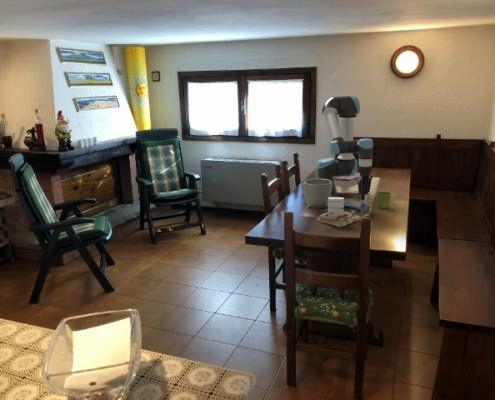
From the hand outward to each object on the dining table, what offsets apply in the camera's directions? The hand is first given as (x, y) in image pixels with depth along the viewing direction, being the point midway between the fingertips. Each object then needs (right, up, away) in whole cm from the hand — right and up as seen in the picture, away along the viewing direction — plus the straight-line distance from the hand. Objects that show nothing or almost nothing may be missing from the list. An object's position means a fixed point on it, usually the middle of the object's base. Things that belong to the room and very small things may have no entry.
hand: (363, 204), depth 244 cm
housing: (-7, -4, -5) cm, 9 cm away
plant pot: (+13, -2, +5) cm, 14 cm away
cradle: (-14, -7, -11) cm, 19 cm away
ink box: (-20, -8, -15) cm, 26 cm away
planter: (-25, -1, +12) cm, 28 cm away
